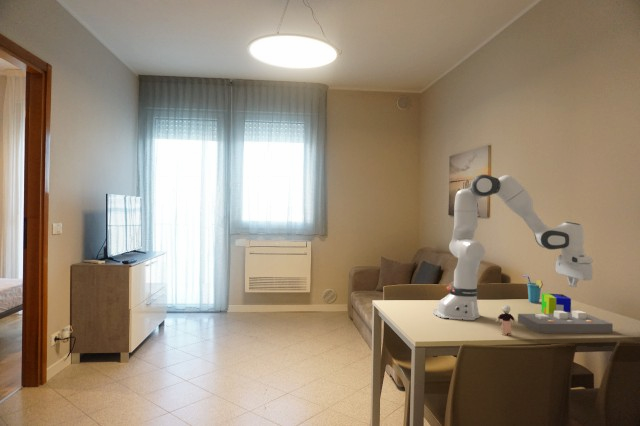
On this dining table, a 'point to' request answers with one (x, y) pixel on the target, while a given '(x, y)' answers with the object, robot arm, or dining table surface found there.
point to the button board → (565, 324)
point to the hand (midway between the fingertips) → (572, 286)
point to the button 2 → (579, 314)
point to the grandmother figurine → (506, 320)
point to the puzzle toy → (555, 303)
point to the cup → (534, 290)
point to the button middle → (561, 314)
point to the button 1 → (542, 316)
